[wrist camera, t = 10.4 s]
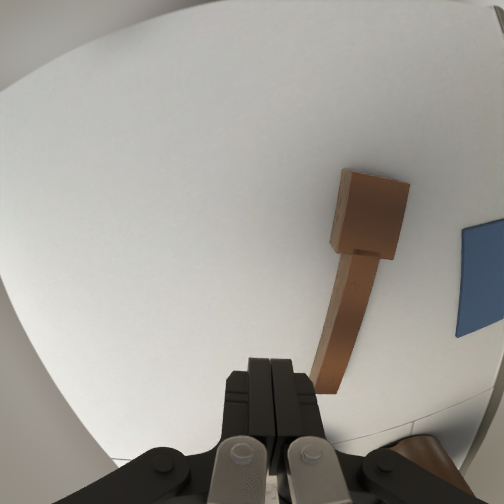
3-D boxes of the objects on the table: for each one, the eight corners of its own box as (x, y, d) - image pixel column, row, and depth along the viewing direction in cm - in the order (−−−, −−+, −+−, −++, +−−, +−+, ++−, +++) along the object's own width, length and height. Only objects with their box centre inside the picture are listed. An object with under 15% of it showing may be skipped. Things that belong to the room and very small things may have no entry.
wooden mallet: (342, 378, 25) (348, 394, 23) (297, 377, 25) (299, 393, 23) (397, 179, 19) (410, 183, 18) (342, 168, 19) (351, 171, 17)
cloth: (501, 316, 23) (503, 318, 23) (455, 336, 24) (457, 338, 23) (511, 216, 20) (513, 218, 20) (461, 229, 20) (464, 230, 20)
